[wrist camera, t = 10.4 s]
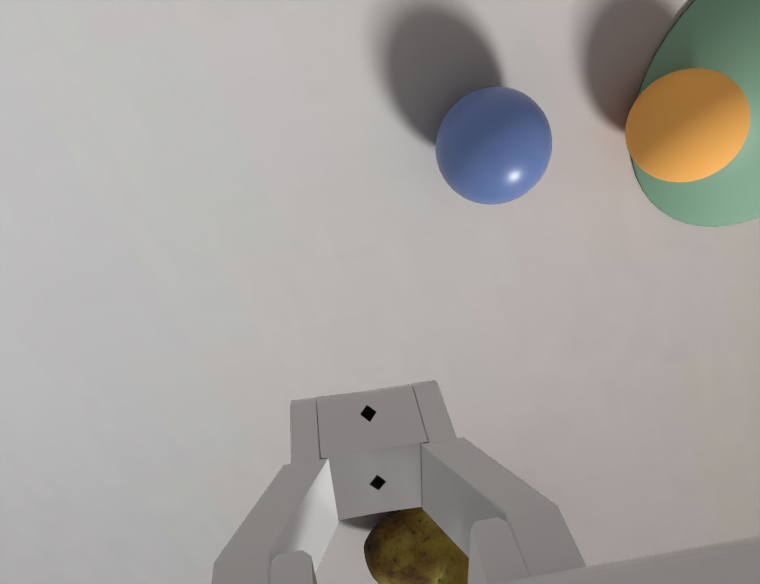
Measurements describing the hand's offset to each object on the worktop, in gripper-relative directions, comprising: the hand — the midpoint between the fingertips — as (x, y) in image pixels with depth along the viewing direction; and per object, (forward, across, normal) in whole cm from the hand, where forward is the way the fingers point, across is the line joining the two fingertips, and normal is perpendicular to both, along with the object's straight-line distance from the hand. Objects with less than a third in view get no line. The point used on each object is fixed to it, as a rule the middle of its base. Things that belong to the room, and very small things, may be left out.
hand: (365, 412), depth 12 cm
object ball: (+15, -17, 0) cm, 22 cm away
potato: (+18, -6, +30) cm, 35 cm away
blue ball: (+15, -8, 0) cm, 17 cm away
